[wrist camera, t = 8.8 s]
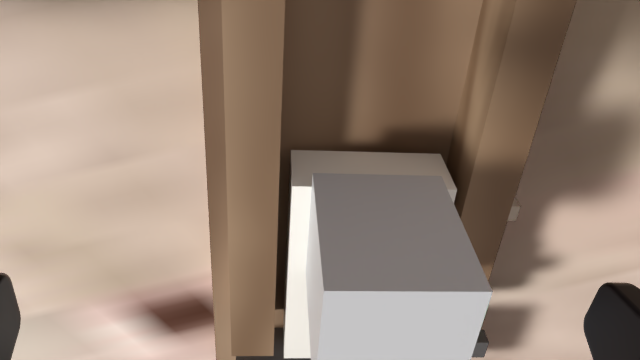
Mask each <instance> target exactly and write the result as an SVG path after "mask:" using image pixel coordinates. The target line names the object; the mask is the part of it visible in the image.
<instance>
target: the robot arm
mask: <svg viewBox="0 0 640 360" xmlns="http://www.w3.org/2000/svg"><path fill="white" fill-rule="evenodd" d="M20 320H21V318H20V311H19V307H18V304H17V300H16V296H15V293H14V289H13V286H12V282H11V280H10V277H9V276H8V275H7V274H5V273H0V360H11V357H12V353H13V350H14V346H15V343H16V339H17V336H18V333H19V329H20ZM584 332H585V336H586V339H587V342H588V345H589V348H590V351H591V354H592V357H593V360H640V289H639V288H637V287H636V286H634V285H632V284H630V283H605V284H603V285H602V286H601V287H600V288H599V290H598V292H597V294H596V296H595V298H594V300H593V302H592V304H591V306H590V308H589V310H588V312H587V314H586V316H585V318H584Z"/></svg>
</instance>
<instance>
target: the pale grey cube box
mask: <svg viewBox="0 0 640 360" xmlns="http://www.w3.org/2000/svg"><path fill="white" fill-rule="evenodd" d="M456 192H457V188H456V186H455V184H454V182H453V180H452V178H451V175H450V173H449V171H448V169H447V167H446V165H445V163H444V160H443V158H442V156H441V154H427V153H390V152H352V151H314V150H291V157H290V179H289V201H288V223H287V246H286V268H285V290H284V312H283V328H284V358H311V360H471V357H484V356H485V353H486V350H487V347H488V344H489V342H488V339H487V337H486V334H485V331H484V330H480V329H481V326H482V323H483V320H484V317H485V314H486V311H487V308H488V305H489V302H490V299H491V295H492V292H493V291H492V289H491V287H490V285H489V282H488V280H487V278H486V276H485V273H484V271H483V269H482V267H481V264H480V262H479V260H478V257H477V255H476V253H475V251H474V248H473V246H472V244H471V242H470V239H469V237H468V235H467V233H466V230H465V228H464V226H463V223H462V221H461V219H460V217H459V214H458V212H457V210H456V208H455V205H454V201H455V197H456Z"/></svg>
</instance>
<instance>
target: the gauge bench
mask: <svg viewBox="0 0 640 360" xmlns="http://www.w3.org/2000/svg"><path fill="white" fill-rule="evenodd" d="M576 1H577V0H198V14H199V33H200V53H201V72H202V92H203V111H204V131H205V150H206V170H207V190H208V209H209V229H210V248H211V268H212V287H213V307H214V326H215V346H216V360H311V358H284V328H283V312H284V290H285V268H286V246H287V223H288V201H289V179H290V157H291V150H314V151H352V152H390V153H427V154H441V156H442V158H443V160H444V163H445V165H446V167H447V169H448V171H449V173H450V175H451V178H452V180H453V182H454V184H455V186H456V188H457V192H456V197H455V201H454V205H455V208H456V210H457V212H458V214H459V217H460V219H461V221H462V223H463V226H464V228H465V230H466V233H467V235H468V237H469V239H470V242H471V244H472V246H473V248H474V251H475V253H476V255H477V257H478V260H479V262H480V264H481V267H482V269H483V271H484V273H485V276H486V278H487V280H488V281H489V278H490V274H491V271H492V268H493V265H494V262H495V259H496V255H497V252H498V249H499V246H500V243H501V239H502V236H503V233H504V230H505V227H506V223H507V221H516V220H517V216H518V213H519V210H520V207H521V206H520V204H519V203H518V201H517V200H516V198H515V195H516V192H517V188H518V185H519V182H520V179H521V176H522V173H523V169H524V166H525V163H526V160H527V157H528V153H529V150H530V147H531V144H532V141H533V137H534V134H535V131H536V128H537V125H538V122H539V118H540V115H541V112H542V109H543V106H544V102H545V99H546V96H547V93H548V90H549V87H550V83H551V80H552V77H553V74H554V71H555V67H556V64H557V61H558V58H559V55H560V51H561V48H562V45H563V42H564V39H565V36H566V32H567V29H568V26H569V23H570V20H571V16H572V13H573V10H574V7H575V4H576ZM488 306H489V305H488ZM487 309H488V308H487ZM486 312H487V311H486ZM485 315H486V314H485ZM484 318H485V317H484ZM483 321H484V320H483ZM482 324H483V323H482ZM481 327H482V326H481ZM480 330H481V329H480Z"/></svg>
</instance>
